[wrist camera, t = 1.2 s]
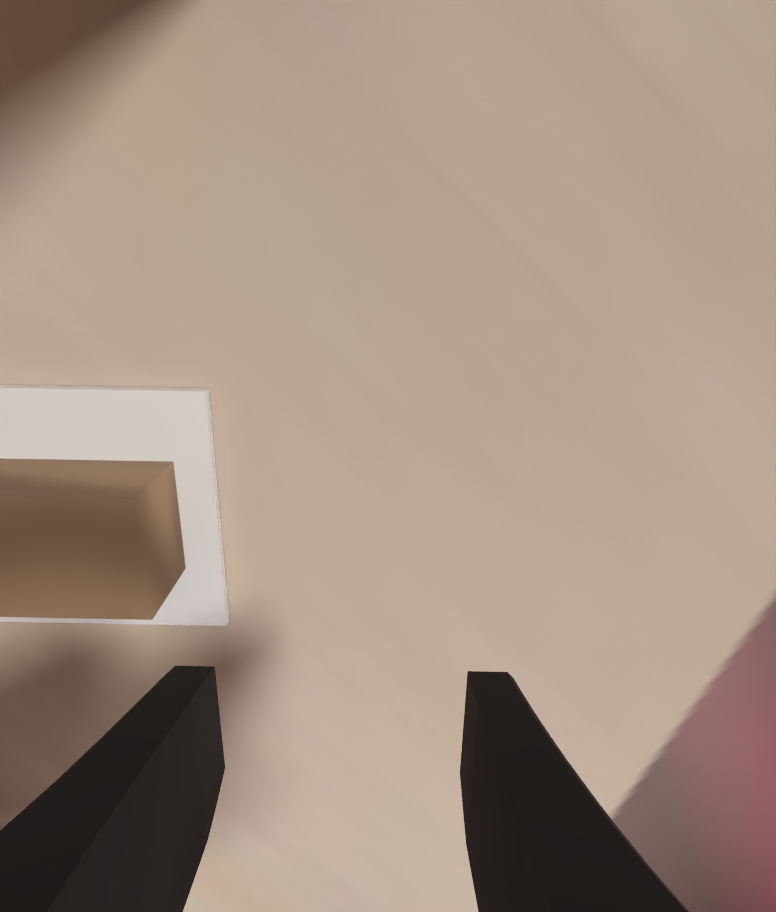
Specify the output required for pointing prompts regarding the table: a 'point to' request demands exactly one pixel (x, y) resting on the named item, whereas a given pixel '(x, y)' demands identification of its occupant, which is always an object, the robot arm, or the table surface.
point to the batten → (88, 538)
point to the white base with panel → (134, 439)
